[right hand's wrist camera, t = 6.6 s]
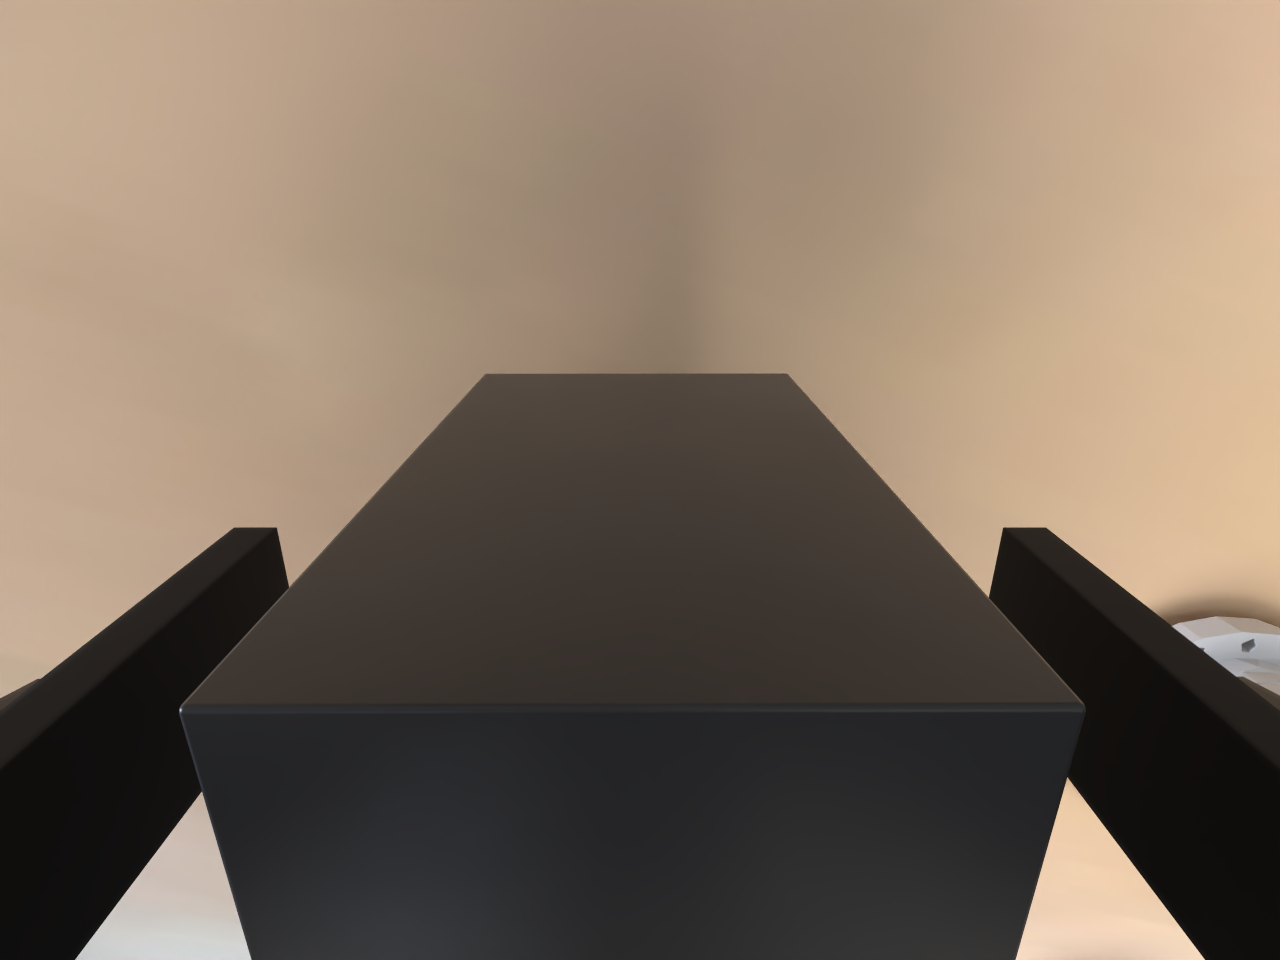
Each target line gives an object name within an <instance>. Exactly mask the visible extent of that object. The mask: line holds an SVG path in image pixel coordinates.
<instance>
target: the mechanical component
mask: <svg viewBox="0 0 1280 960" xmlns="http://www.w3.org/2000/svg"><path fill="white" fill-rule="evenodd" d="M1172 627H1173V628H1175V629H1176V630H1177V631H1179V632H1180V633H1181V634H1182V635H1184V636H1185V637H1186V638H1188V639H1189V640H1190V641H1191V642H1193V643H1194V644H1195V645H1196V646H1198V647H1199V648H1200V649H1202V650H1203V651H1204V652H1205V653H1207V654H1208V655H1209V656H1211V657H1212V658H1213V659H1214V660H1216V661H1217V662H1218V663H1219V664H1221V665H1222V666H1223V667H1225V668H1226V669H1227V670H1228V671H1230V672H1231V673H1232V674H1234V675H1235V676H1236V677H1245V678H1247V679H1249V680H1251V681H1253V682H1255V683H1257V684H1259V685H1261V686H1262V687H1264V688H1266V689H1268V690H1270V691H1272V692H1274V693H1276V694H1278V695H1280V628H1279V627H1277V626H1274V625H1271V624H1268V623H1266V622H1263V621H1260V620H1257V619H1253V618H1236V617H1219V616H1215V617H1209V618H1204V619H1198V620H1193V621H1187V622H1182V623H1178V624H1175V625H1173V626H1172Z"/></svg>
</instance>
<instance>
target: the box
mask: <svg viewBox="0 0 1280 960" xmlns="http://www.w3.org/2000/svg"><path fill="white" fill-rule="evenodd" d="M1085 713H1086V709H1085V705H1084V703H1083V702H1082V701H1081V700H1080V699H1079V698H1078V697H1077V695H1076V694H1075V693H1074V692H1073V691H1072V690H1071V689H1070V688H1069V687H1068V685H1067V684H1066V683H1065V682H1064V681H1063V680H1062V679H1061V678H1060V677H1059V675H1058V674H1057V673H1056V672H1055V671H1054V670H1053V669H1052V668H1051V667H1050V665H1049V664H1048V663H1047V662H1046V661H1045V660H1044V659H1043V658H1042V657H1041V655H1040V654H1039V653H1038V652H1037V651H1036V650H1035V649H1034V648H1033V647H1032V645H1031V644H1030V643H1029V642H1028V641H1027V640H1026V639H1025V638H1024V637H1023V635H1022V634H1021V633H1020V632H1019V631H1018V630H1017V629H1016V628H1015V626H1014V625H1013V624H1012V623H1011V622H1010V621H1009V620H1008V619H1007V618H1006V616H1005V615H1004V614H1003V613H1002V612H1001V611H1000V610H999V609H998V608H997V606H996V605H995V604H994V603H993V602H992V601H991V600H990V599H989V598H988V596H987V595H986V594H985V593H984V592H983V591H982V590H981V589H980V588H979V586H978V585H977V584H976V583H975V582H974V581H973V580H972V579H971V578H970V576H969V575H968V574H967V573H966V572H965V571H964V570H963V569H962V568H961V566H960V565H959V564H958V563H957V562H956V561H955V560H954V559H953V558H952V556H951V555H950V554H949V553H948V552H947V551H946V550H945V549H944V548H943V546H942V545H941V544H940V543H939V542H938V541H937V540H936V539H935V538H934V536H933V535H932V534H931V533H930V532H929V531H928V530H927V529H926V528H925V526H924V525H923V524H922V523H921V522H920V521H919V520H918V519H917V518H916V516H915V515H914V514H913V513H912V512H911V511H910V510H909V509H908V508H907V506H906V505H905V504H904V503H903V502H902V501H901V500H900V499H899V498H898V496H897V495H896V494H895V493H894V492H893V491H892V490H891V489H890V487H889V486H888V485H887V484H886V483H885V482H884V481H883V480H882V479H881V477H880V476H879V475H878V474H877V473H876V472H875V471H874V470H873V469H872V467H871V466H870V465H869V464H868V463H867V462H866V461H865V460H864V459H863V457H862V456H861V455H860V454H859V453H858V452H857V451H856V450H855V449H854V447H853V446H852V445H851V444H850V443H849V442H848V441H847V440H846V439H845V437H844V436H843V435H842V434H841V433H840V432H839V431H838V430H837V429H836V427H835V426H834V425H833V424H832V423H831V422H830V421H829V420H828V419H827V417H826V416H825V415H824V414H823V413H822V412H821V411H820V410H819V409H818V407H817V406H816V405H815V404H814V403H813V402H812V401H811V400H810V399H809V397H808V396H807V395H806V394H805V393H804V392H803V391H802V390H801V389H800V387H799V386H798V385H797V384H796V383H795V382H794V381H793V380H792V379H791V377H790V376H789V375H788V374H485V375H484V376H483V377H482V378H481V380H480V381H479V382H478V383H477V384H476V385H475V386H474V387H473V388H472V389H471V390H470V391H469V393H468V394H467V395H466V396H465V397H464V398H463V399H462V400H461V401H460V402H459V403H458V405H457V406H456V407H455V408H454V409H453V410H452V411H451V412H450V413H449V414H448V415H447V417H446V418H445V419H444V420H443V421H442V422H441V423H440V424H439V425H438V426H437V427H436V428H435V430H434V431H433V432H432V433H431V434H430V435H429V436H428V437H427V438H426V439H425V440H424V442H423V443H422V444H421V445H420V446H419V447H418V448H417V449H416V450H415V451H414V452H413V454H412V455H411V456H410V457H409V458H408V459H407V460H406V461H405V462H404V463H403V464H402V465H401V467H400V468H399V469H398V470H397V471H396V472H395V473H394V474H393V475H392V476H391V477H390V479H389V480H388V481H387V482H386V483H385V484H384V485H383V486H382V487H381V488H380V489H379V491H378V492H377V493H376V494H375V495H374V496H373V497H372V498H371V499H370V500H369V501H368V502H367V504H366V505H365V506H364V507H363V508H362V509H361V510H360V511H359V512H358V513H357V514H356V516H355V517H354V518H353V519H352V520H351V521H350V522H349V523H348V524H347V525H346V526H345V528H344V529H343V530H342V531H341V532H340V533H339V534H338V535H337V536H336V537H335V538H334V539H333V541H332V542H331V543H330V544H329V545H328V546H327V547H326V548H325V549H324V550H323V551H322V553H321V554H320V555H319V556H318V557H317V558H316V559H315V560H314V561H313V562H312V563H311V565H310V566H309V567H308V568H307V569H306V570H305V571H304V572H303V573H302V574H301V575H300V576H299V578H298V579H297V580H296V581H295V582H294V583H293V584H292V585H291V586H290V587H289V588H288V590H287V591H286V592H285V593H284V594H283V595H282V596H281V597H280V598H279V599H278V600H277V602H276V603H275V604H274V605H273V606H272V607H271V608H270V609H269V610H268V611H267V612H266V613H265V615H264V616H263V617H262V618H261V619H260V620H259V621H258V622H257V623H256V624H255V625H254V627H253V628H252V629H251V630H250V631H249V632H248V633H247V634H246V635H245V636H244V637H243V639H242V640H241V641H240V642H239V643H238V644H237V645H236V646H235V647H234V648H233V649H232V650H231V652H230V653H229V654H228V655H227V656H226V657H225V658H224V659H223V660H222V661H221V662H220V664H219V665H218V666H217V667H216V668H215V669H214V670H213V671H212V672H211V673H210V674H209V676H208V677H207V678H206V679H205V680H204V681H203V682H202V683H201V684H200V685H199V686H198V687H197V689H196V690H195V691H194V692H193V693H192V694H191V695H190V696H189V697H188V698H187V699H186V701H185V702H184V703H183V704H182V705H181V707H180V710H179V715H180V718H181V721H182V725H183V728H184V732H185V735H186V738H187V742H188V745H189V749H190V752H191V755H192V759H193V762H194V765H195V769H196V772H197V776H198V779H199V782H200V786H201V789H202V793H203V796H204V799H205V803H206V806H207V810H208V813H209V816H210V820H211V823H212V827H213V830H214V833H215V837H216V840H217V844H218V847H219V850H220V854H221V857H222V861H223V864H224V867H225V871H226V874H227V878H228V881H229V884H230V888H231V891H232V895H233V898H234V901H235V905H236V908H237V912H238V915H239V918H240V922H241V925H242V929H243V932H244V935H245V939H246V942H247V946H248V949H249V952H250V956H251V959H252V960H1015V959H1016V956H1017V952H1018V949H1019V945H1020V942H1021V938H1022V935H1023V931H1024V928H1025V924H1026V921H1027V917H1028V914H1029V910H1030V907H1031V903H1032V900H1033V896H1034V893H1035V889H1036V885H1037V882H1038V878H1039V875H1040V871H1041V868H1042V864H1043V861H1044V857H1045V854H1046V850H1047V847H1048V843H1049V840H1050V836H1051V833H1052V829H1053V826H1054V822H1055V819H1056V815H1057V812H1058V808H1059V804H1060V801H1061V797H1062V794H1063V790H1064V787H1065V783H1066V780H1067V776H1068V773H1069V769H1070V766H1071V762H1072V759H1073V755H1074V752H1075V748H1076V745H1077V741H1078V738H1079V734H1080V731H1081V727H1082V723H1083V720H1084V716H1085Z"/></svg>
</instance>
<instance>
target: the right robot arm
mask: <svg viewBox="0 0 1280 960" xmlns="http://www.w3.org/2000/svg"><path fill="white" fill-rule="evenodd" d="M288 588H289V585H288V580H287V575H286V570H285V565H284V561H283V556H282V551H281V546H280V541H279V536H278V531H277V528H233V529H232V530H230V531H229V532H228V533H227V534H225V535H224V536H223V537H222V538H220V539H219V540H218V541H216V542H215V543H214V544H213V545H211V546H210V547H209V548H207V549H206V550H205V551H204V552H202V553H201V554H200V555H199V556H197V557H196V558H195V559H193V560H192V561H191V562H190V563H188V564H187V565H186V566H184V567H183V568H182V569H181V570H179V571H178V572H177V573H176V574H174V575H173V576H172V577H170V578H169V579H168V580H167V581H165V582H164V583H163V584H161V585H160V586H159V587H158V588H156V589H155V590H154V591H153V592H151V593H150V594H149V595H147V596H146V597H145V598H144V599H142V600H141V601H140V602H138V603H137V604H136V605H135V606H133V607H132V608H131V609H130V610H128V611H127V612H126V613H124V614H123V615H122V616H121V617H119V618H118V619H117V620H115V621H114V622H113V623H112V624H110V625H109V626H108V627H107V628H105V629H104V630H103V631H101V632H100V633H99V634H98V635H96V636H95V637H94V638H92V639H91V640H90V641H89V642H87V643H86V644H85V645H84V646H82V647H81V648H80V649H78V650H77V651H76V652H75V653H73V654H72V655H71V656H69V657H68V658H67V659H66V660H64V661H63V662H62V663H61V664H59V665H58V666H57V667H55V668H54V669H53V670H52V671H50V672H49V673H48V674H46V675H45V676H44V677H43V678H41V679H37V680H35V681H33V682H31V683H29V684H27V685H25V686H23V687H21V688H20V689H18V690H16V691H14V692H12V693H10V694H8V695H6V696H4V697H2V698H0V960H75V959H76V958H77V956H78V955H79V954H80V952H81V951H82V950H83V948H84V947H85V946H86V944H87V943H88V942H89V940H90V939H91V938H92V936H93V935H94V934H95V932H96V931H97V930H98V928H99V927H100V926H101V924H102V923H103V922H104V920H105V919H106V918H107V916H108V915H109V914H110V912H111V911H112V910H113V908H114V907H115V906H116V904H117V903H118V902H119V901H120V899H121V898H122V897H123V895H124V894H125V893H126V891H127V890H128V889H129V887H130V886H131V885H132V883H133V882H134V881H135V879H136V878H137V877H138V875H139V874H140V873H141V871H142V870H143V869H144V867H145V866H146V865H147V863H148V862H149V861H150V859H151V858H152V857H153V855H154V854H155V853H156V851H157V850H158V849H159V847H160V846H161V845H162V843H163V842H164V841H165V839H166V838H167V837H168V836H169V834H170V833H171V832H172V830H173V829H174V828H175V826H176V825H177V824H178V822H179V821H180V820H181V818H182V817H183V816H184V814H185V813H186V812H187V810H188V809H189V808H190V806H191V805H192V804H193V802H194V801H195V800H196V798H197V797H198V796H199V794H200V793H201V792H202V789H201V786H200V782H199V779H198V776H197V772H196V769H195V765H194V762H193V759H192V755H191V752H190V749H189V745H188V742H187V738H186V735H185V732H184V728H183V725H182V721H181V718H180V715H179V710H180V707H181V705H182V704H183V703H184V702H185V701H186V699H187V698H188V697H189V696H190V695H191V694H192V693H193V692H194V691H195V690H196V689H197V687H198V686H199V685H200V684H201V683H202V682H203V681H204V680H205V679H206V678H207V677H208V676H209V674H210V673H211V672H212V671H213V670H214V669H215V668H216V667H217V666H218V665H219V664H220V662H221V661H222V660H223V659H224V658H225V657H226V656H227V655H228V654H229V653H230V652H231V650H232V649H233V648H234V647H235V646H236V645H237V644H238V643H239V642H240V641H241V640H242V639H243V637H244V636H245V635H246V634H247V633H248V632H249V631H250V630H251V629H252V628H253V627H254V625H255V624H256V623H257V622H258V621H259V620H260V619H261V618H262V617H263V616H264V615H265V613H266V612H267V611H268V610H269V609H270V608H271V607H272V606H273V605H274V604H275V603H276V602H277V600H278V599H279V598H280V597H281V596H282V595H283V594H284V593H285V592H286V591H287V590H288ZM989 599H990V600H991V601H992V602H993V603H994V604H995V605H996V606H997V608H998V609H999V610H1000V611H1001V612H1002V613H1003V614H1004V615H1005V616H1006V618H1007V619H1008V620H1009V621H1010V622H1011V623H1012V624H1013V625H1014V626H1015V628H1016V629H1017V630H1018V631H1019V632H1020V633H1021V634H1022V635H1023V637H1024V638H1025V639H1026V640H1027V641H1028V642H1029V643H1030V644H1031V645H1032V647H1033V648H1034V649H1035V650H1036V651H1037V652H1038V653H1039V654H1040V655H1041V657H1042V658H1043V659H1044V660H1045V661H1046V662H1047V663H1048V664H1049V665H1050V667H1051V668H1052V669H1053V670H1054V671H1055V672H1056V673H1057V674H1058V675H1059V677H1060V678H1061V679H1062V680H1063V681H1064V682H1065V683H1066V684H1067V685H1068V687H1069V688H1070V689H1071V690H1072V691H1073V692H1074V693H1075V694H1076V695H1077V697H1078V698H1079V699H1080V700H1081V701H1082V702H1083V703H1084V705H1085V709H1086V713H1085V716H1084V720H1083V723H1082V727H1081V731H1080V734H1079V738H1078V741H1077V745H1076V748H1075V752H1074V755H1073V759H1072V762H1071V766H1070V769H1069V773H1068V776H1067V777H1068V778H1069V780H1070V781H1071V782H1072V784H1073V785H1074V786H1075V788H1076V789H1077V790H1078V792H1079V793H1080V794H1081V796H1082V797H1083V798H1084V800H1085V801H1086V802H1087V804H1088V805H1089V806H1090V808H1091V809H1092V810H1093V812H1094V813H1095V814H1096V816H1097V817H1098V818H1099V820H1100V821H1101V822H1102V824H1103V825H1104V826H1105V828H1106V829H1107V830H1108V831H1109V833H1110V834H1111V835H1112V837H1113V838H1114V839H1115V841H1116V842H1117V843H1118V845H1119V846H1120V847H1121V849H1122V850H1123V851H1124V853H1125V854H1126V855H1127V857H1128V858H1129V859H1130V861H1131V862H1132V863H1133V865H1134V866H1135V867H1136V869H1137V870H1138V871H1139V873H1140V874H1141V875H1142V877H1143V878H1144V879H1145V881H1146V882H1147V883H1148V885H1149V886H1150V887H1151V889H1152V890H1153V891H1154V893H1155V894H1156V895H1157V896H1158V898H1159V899H1160V900H1161V902H1162V903H1163V904H1164V906H1165V907H1166V908H1167V910H1168V911H1169V912H1170V914H1171V915H1172V916H1173V918H1174V919H1175V920H1176V922H1177V923H1178V924H1179V926H1180V927H1181V928H1182V930H1183V931H1184V932H1185V934H1186V935H1187V936H1188V938H1189V939H1190V940H1191V942H1192V943H1193V944H1194V946H1195V947H1196V948H1197V950H1198V951H1199V952H1200V954H1201V955H1202V956H1203V958H1204V959H1205V960H1280V695H1278V694H1276V693H1274V692H1272V691H1270V690H1268V689H1266V688H1264V687H1262V686H1261V685H1259V684H1257V683H1255V682H1253V681H1251V680H1249V679H1247V678H1245V677H1236V676H1235V675H1234V674H1232V673H1231V672H1230V671H1228V670H1227V669H1226V668H1225V667H1223V666H1222V665H1221V664H1219V663H1218V662H1217V661H1216V660H1214V659H1213V658H1212V657H1211V656H1209V655H1208V654H1207V653H1205V652H1204V651H1203V650H1202V649H1200V648H1199V647H1198V646H1196V645H1195V644H1194V643H1193V642H1191V641H1190V640H1189V639H1188V638H1186V637H1185V636H1184V635H1182V634H1181V633H1180V632H1179V631H1177V630H1176V629H1175V628H1173V627H1172V626H1171V625H1170V624H1168V623H1167V622H1166V621H1165V620H1163V619H1162V618H1161V617H1159V616H1158V615H1157V614H1156V613H1154V612H1153V611H1152V610H1150V609H1149V608H1148V607H1147V606H1145V605H1144V604H1143V603H1142V602H1140V601H1139V600H1138V599H1136V598H1135V597H1134V596H1133V595H1131V594H1130V593H1129V592H1127V591H1126V590H1125V589H1124V588H1122V587H1121V586H1120V585H1119V584H1117V583H1116V582H1115V581H1113V580H1112V579H1111V578H1110V577H1108V576H1107V575H1106V574H1104V573H1103V572H1102V571H1101V570H1099V569H1098V568H1097V567H1096V566H1094V565H1093V564H1092V563H1090V562H1089V561H1088V560H1087V559H1085V558H1084V557H1083V556H1081V555H1080V554H1079V553H1078V552H1076V551H1075V550H1074V549H1073V548H1071V547H1070V546H1069V545H1067V544H1066V543H1065V542H1064V541H1062V540H1061V539H1060V538H1058V537H1057V536H1056V535H1055V534H1053V533H1052V532H1051V531H1050V530H1048V529H1047V528H1003V532H1002V536H1001V541H1000V546H999V551H998V556H997V561H996V566H995V570H994V575H993V580H992V585H991V590H990V595H989Z"/></svg>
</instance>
